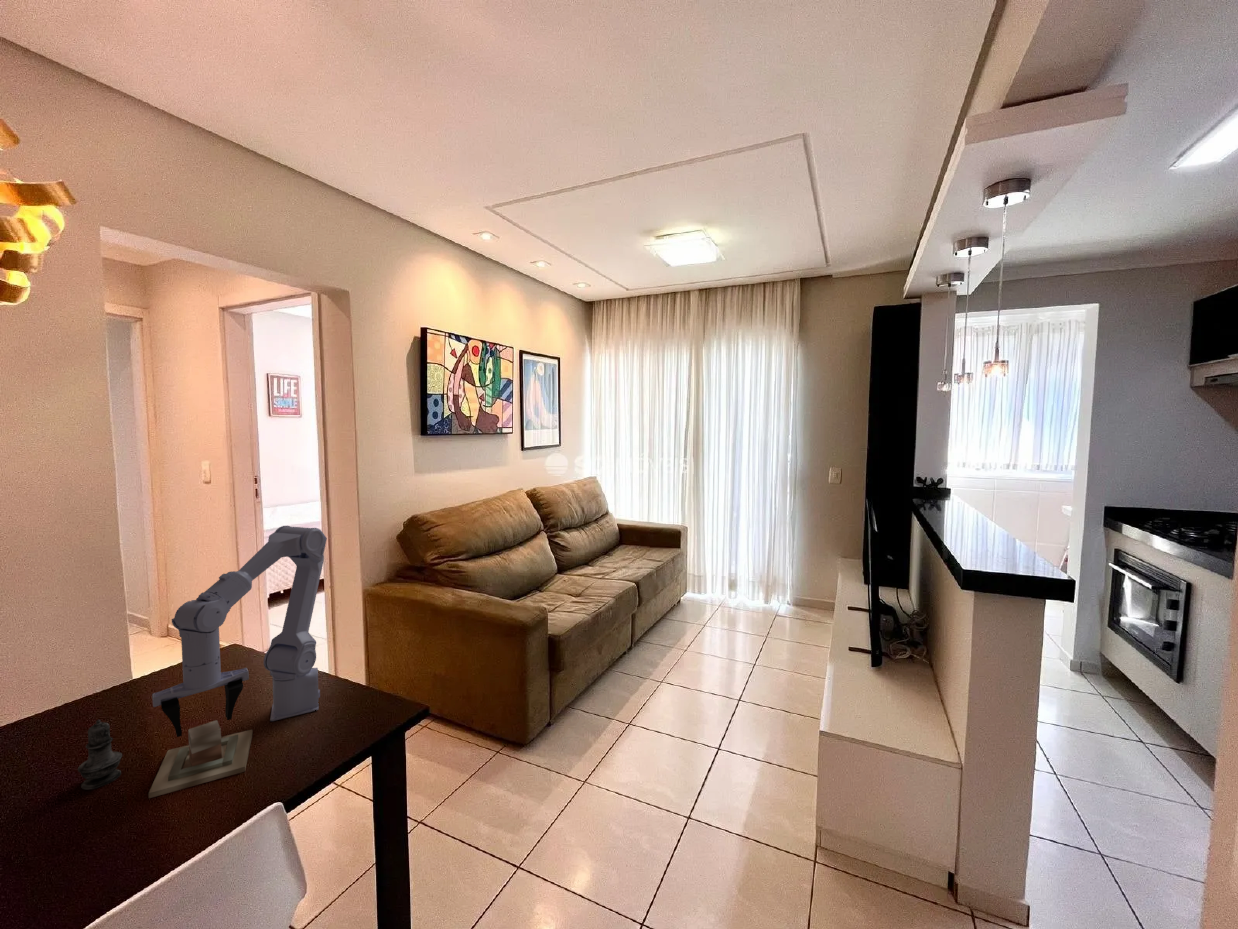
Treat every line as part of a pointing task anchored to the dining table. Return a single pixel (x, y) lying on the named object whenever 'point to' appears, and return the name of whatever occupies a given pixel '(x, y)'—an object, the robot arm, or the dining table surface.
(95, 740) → the dark grey chess piece
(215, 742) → the brown and beige block
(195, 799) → the dining table surface
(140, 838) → the dining table surface
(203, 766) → the pocket board
